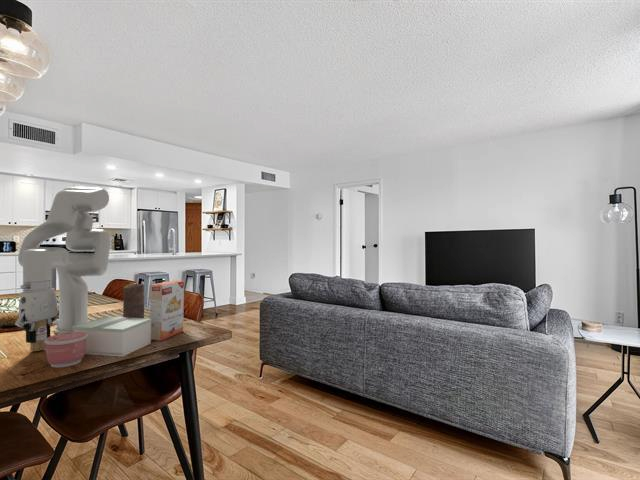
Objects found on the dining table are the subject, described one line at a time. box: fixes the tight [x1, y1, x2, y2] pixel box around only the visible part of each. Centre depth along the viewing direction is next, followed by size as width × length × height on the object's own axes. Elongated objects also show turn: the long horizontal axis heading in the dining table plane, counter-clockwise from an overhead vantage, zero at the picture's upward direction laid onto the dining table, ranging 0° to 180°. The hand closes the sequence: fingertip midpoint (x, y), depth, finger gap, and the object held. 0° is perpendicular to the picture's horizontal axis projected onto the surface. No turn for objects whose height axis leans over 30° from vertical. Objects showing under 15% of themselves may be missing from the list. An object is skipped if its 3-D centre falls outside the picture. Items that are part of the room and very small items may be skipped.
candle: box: [122, 283, 145, 318], centre depth 135 cm, size 8×7×20 cm
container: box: [45, 332, 87, 368], centre depth 105 cm, size 10×10×8 cm
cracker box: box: [148, 280, 185, 342], centre depth 134 cm, size 14×6×21 cm, turn 168°
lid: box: [72, 316, 152, 332], centre depth 119 cm, size 19×14×1 cm
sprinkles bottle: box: [29, 319, 47, 352], centre depth 115 cm, size 5×5×13 cm
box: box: [74, 322, 152, 358], centre depth 119 cm, size 18×14×8 cm
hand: (38, 339), depth 115 cm, fingers closed on sprinkles bottle, 4 cm apart
